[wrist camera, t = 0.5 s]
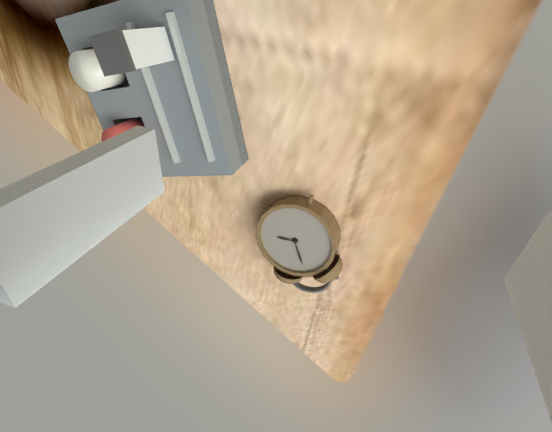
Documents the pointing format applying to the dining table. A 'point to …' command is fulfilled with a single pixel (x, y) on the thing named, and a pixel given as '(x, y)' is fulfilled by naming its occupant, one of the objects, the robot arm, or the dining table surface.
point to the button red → (120, 128)
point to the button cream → (91, 72)
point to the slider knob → (131, 49)
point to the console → (171, 84)
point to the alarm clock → (300, 241)
